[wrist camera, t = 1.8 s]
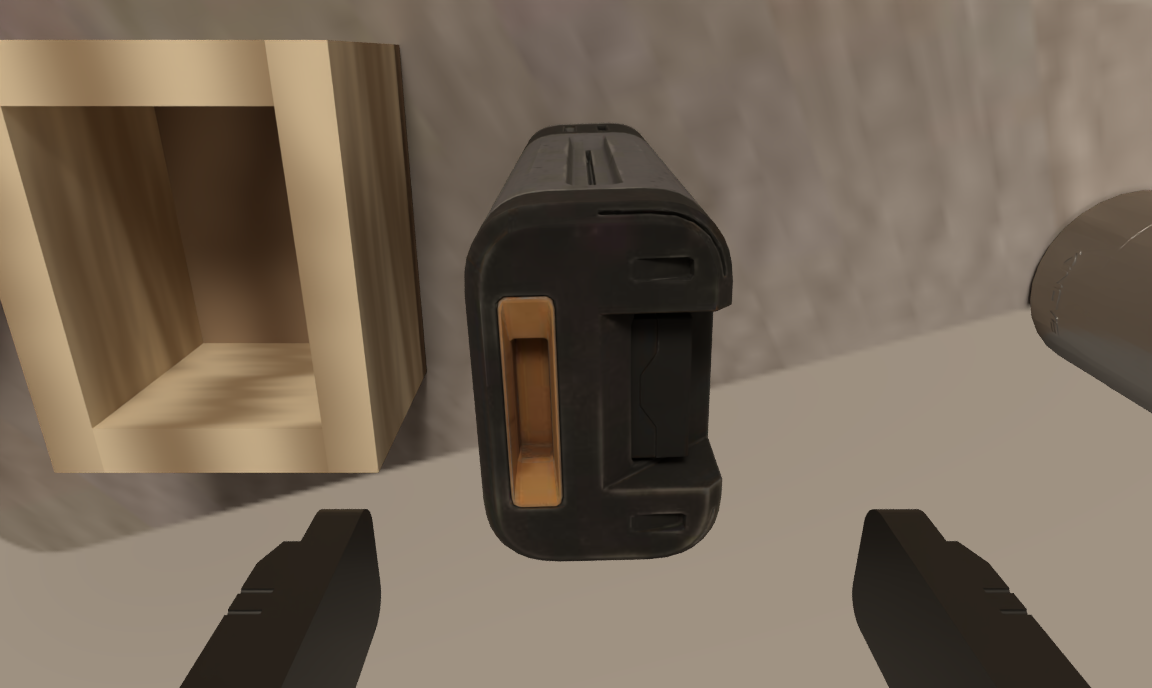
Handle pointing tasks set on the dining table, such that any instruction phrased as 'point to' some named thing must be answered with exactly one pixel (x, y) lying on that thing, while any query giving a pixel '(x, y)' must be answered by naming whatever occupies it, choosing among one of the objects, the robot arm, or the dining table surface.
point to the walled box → (210, 252)
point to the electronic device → (595, 350)
